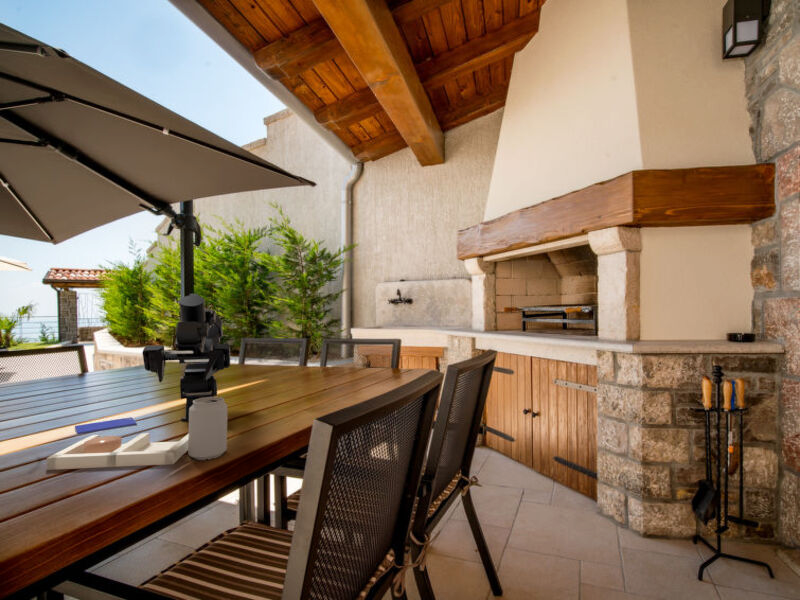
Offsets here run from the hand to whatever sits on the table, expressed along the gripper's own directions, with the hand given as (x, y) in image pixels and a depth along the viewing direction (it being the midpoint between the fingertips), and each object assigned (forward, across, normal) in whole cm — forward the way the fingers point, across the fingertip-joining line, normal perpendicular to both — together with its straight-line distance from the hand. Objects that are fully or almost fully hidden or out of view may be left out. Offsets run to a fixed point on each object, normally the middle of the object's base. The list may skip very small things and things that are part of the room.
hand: (182, 379), depth 91 cm
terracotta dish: (+9, -14, +12) cm, 21 cm away
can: (+14, +6, +9) cm, 18 cm away
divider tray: (+10, -9, +11) cm, 18 cm away
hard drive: (-11, -21, +25) cm, 35 cm away
